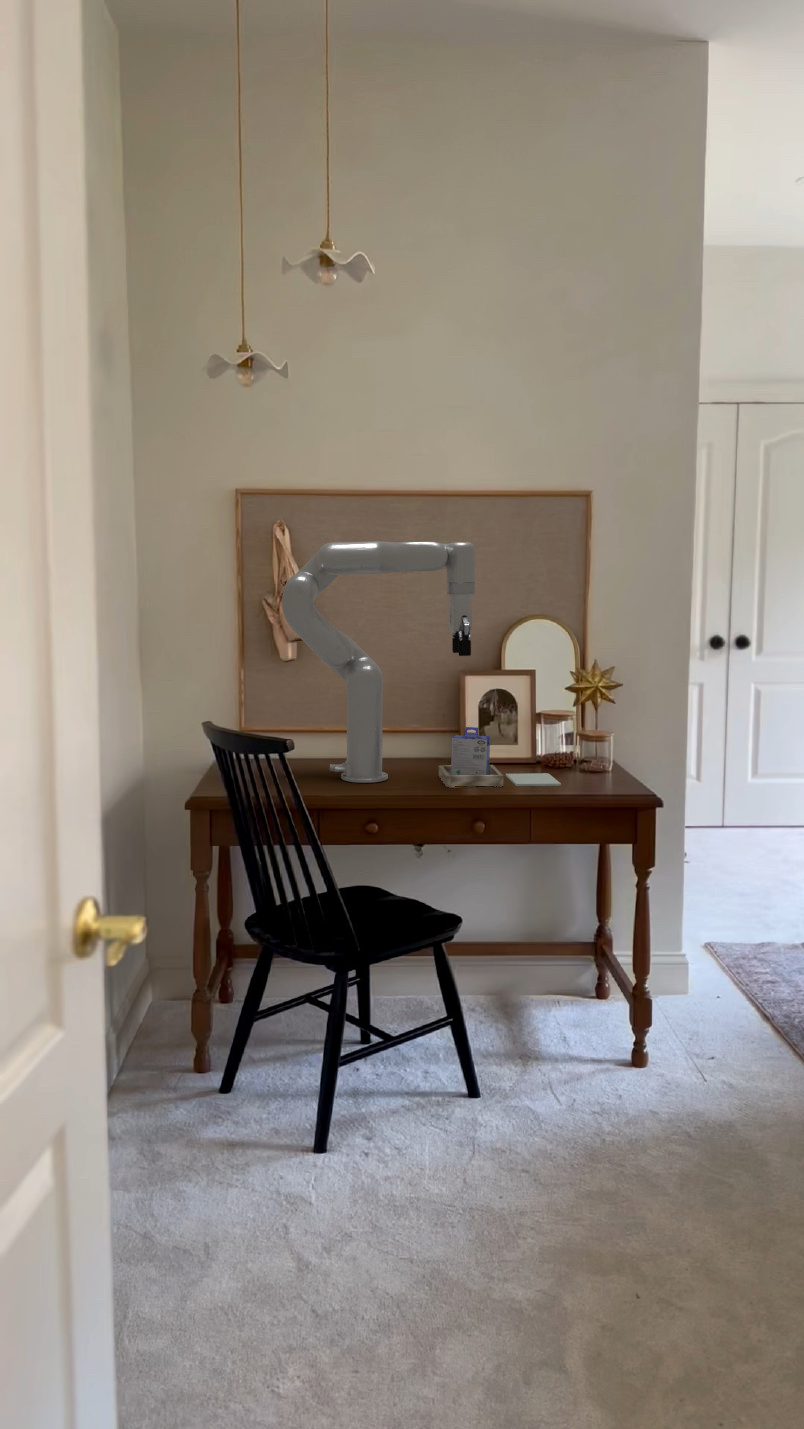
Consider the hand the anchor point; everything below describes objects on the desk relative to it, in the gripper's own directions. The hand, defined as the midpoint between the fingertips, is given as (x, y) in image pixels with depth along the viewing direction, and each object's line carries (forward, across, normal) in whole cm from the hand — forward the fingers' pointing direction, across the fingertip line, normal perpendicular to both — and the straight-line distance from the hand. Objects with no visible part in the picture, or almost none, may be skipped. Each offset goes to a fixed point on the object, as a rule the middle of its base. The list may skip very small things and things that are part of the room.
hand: (461, 654), depth 292 cm
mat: (+34, +4, +18) cm, 39 cm away
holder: (+34, +4, +1) cm, 34 cm away
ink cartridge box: (+34, +4, +1) cm, 34 cm away
